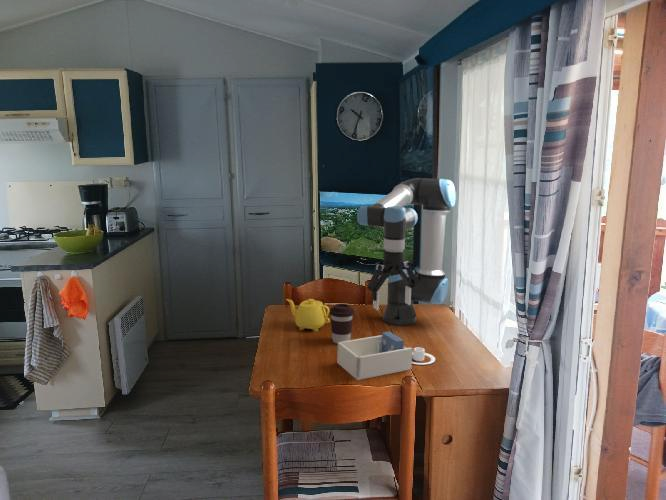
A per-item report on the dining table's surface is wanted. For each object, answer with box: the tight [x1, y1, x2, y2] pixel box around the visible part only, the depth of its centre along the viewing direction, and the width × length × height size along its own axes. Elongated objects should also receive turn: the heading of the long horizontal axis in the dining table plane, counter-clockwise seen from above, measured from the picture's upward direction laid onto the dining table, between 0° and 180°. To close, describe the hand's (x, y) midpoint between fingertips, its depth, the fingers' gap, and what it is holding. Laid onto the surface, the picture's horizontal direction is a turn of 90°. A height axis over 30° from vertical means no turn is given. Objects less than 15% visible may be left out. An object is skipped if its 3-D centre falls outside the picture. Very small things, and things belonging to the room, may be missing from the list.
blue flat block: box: [381, 331, 405, 353], centre depth 202 cm, size 3×10×9 cm, turn 25°
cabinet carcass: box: [336, 335, 413, 381], centre depth 199 cm, size 22×16×8 cm
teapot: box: [285, 298, 331, 333], centre depth 239 cm, size 14×20×13 cm
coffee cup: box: [329, 303, 355, 344], centre depth 222 cm, size 10×10×15 cm
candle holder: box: [412, 347, 436, 366], centre depth 207 cm, size 12×12×4 cm
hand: (392, 306), depth 201 cm, fingers open, 13 cm apart
